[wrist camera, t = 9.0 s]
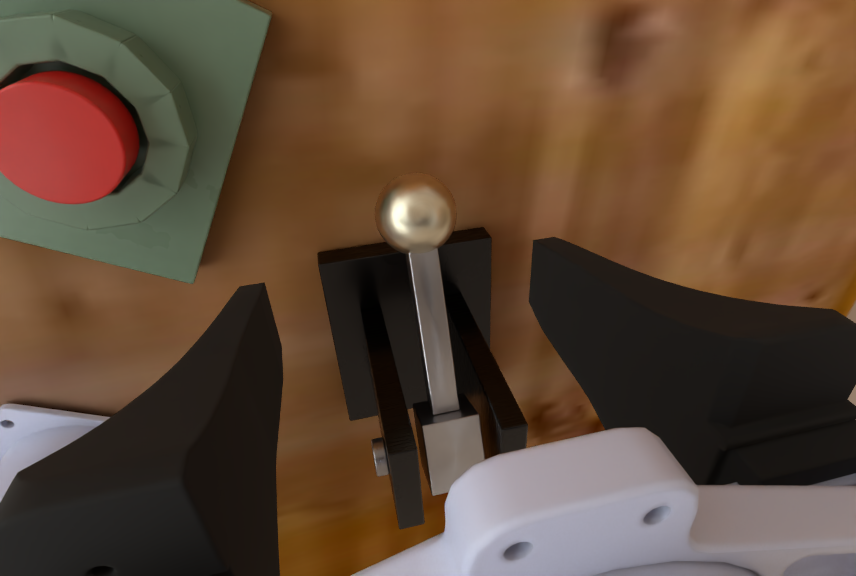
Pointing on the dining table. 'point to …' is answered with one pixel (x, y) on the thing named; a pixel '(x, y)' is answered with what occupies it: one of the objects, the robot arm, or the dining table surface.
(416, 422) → the lever
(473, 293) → the switch bracket
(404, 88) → the dining table surface
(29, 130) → the button
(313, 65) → the dining table surface
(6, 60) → the switch box
